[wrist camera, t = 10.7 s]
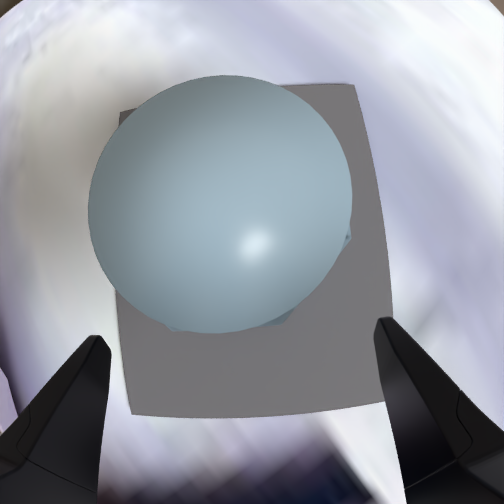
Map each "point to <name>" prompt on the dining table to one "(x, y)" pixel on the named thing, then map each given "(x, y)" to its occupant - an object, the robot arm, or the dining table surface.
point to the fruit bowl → (6, 404)
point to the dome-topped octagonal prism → (220, 204)
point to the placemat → (292, 329)
